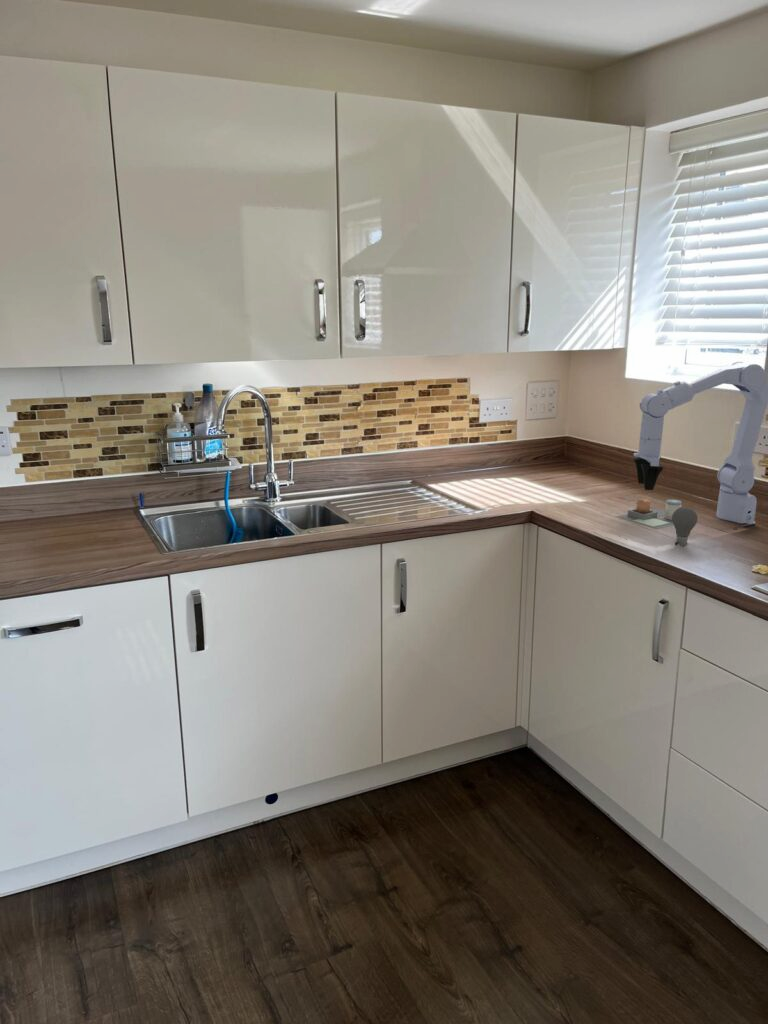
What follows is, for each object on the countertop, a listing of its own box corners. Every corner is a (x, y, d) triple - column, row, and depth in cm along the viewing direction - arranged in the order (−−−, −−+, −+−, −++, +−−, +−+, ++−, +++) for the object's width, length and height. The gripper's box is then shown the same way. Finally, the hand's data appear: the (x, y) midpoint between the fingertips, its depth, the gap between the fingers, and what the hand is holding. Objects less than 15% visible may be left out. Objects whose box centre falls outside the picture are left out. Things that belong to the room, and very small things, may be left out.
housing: (696, 524, 212) (697, 514, 211) (656, 533, 203) (657, 523, 202) (654, 512, 223) (655, 503, 222) (614, 520, 214) (615, 511, 213)
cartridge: (682, 522, 213) (684, 502, 212) (673, 524, 211) (675, 503, 210) (670, 519, 216) (672, 498, 215) (661, 521, 214) (663, 500, 213)
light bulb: (688, 541, 196) (692, 503, 194) (698, 548, 190) (703, 510, 188) (665, 541, 196) (669, 503, 193) (674, 548, 190) (679, 510, 188)
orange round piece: (652, 511, 213) (653, 501, 212) (643, 513, 211) (645, 502, 210) (641, 508, 216) (642, 498, 215) (633, 510, 214) (634, 499, 213)
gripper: (630, 433, 216) (625, 480, 219) (641, 442, 202) (636, 492, 205) (655, 434, 215) (650, 481, 219) (669, 443, 201) (663, 493, 205)
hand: (645, 486), depth 212 cm, fingers open, 7 cm apart
